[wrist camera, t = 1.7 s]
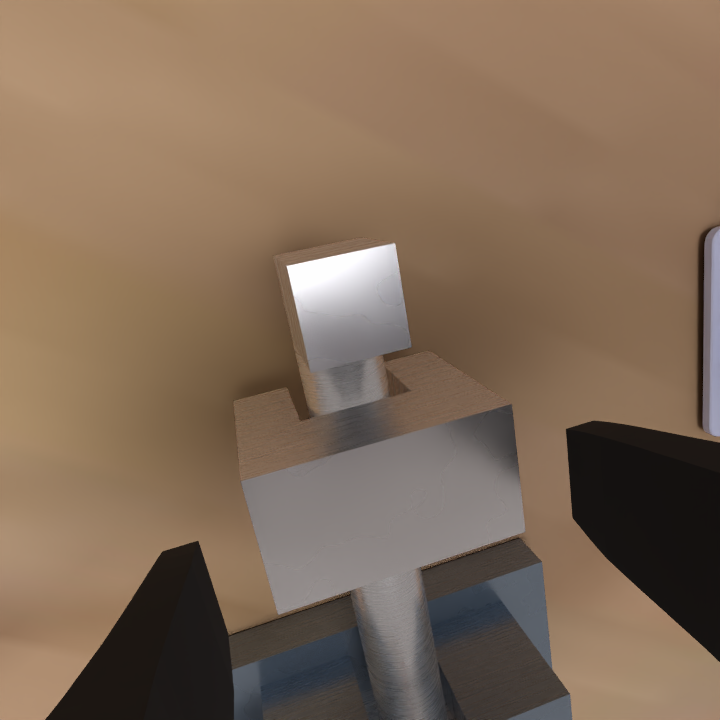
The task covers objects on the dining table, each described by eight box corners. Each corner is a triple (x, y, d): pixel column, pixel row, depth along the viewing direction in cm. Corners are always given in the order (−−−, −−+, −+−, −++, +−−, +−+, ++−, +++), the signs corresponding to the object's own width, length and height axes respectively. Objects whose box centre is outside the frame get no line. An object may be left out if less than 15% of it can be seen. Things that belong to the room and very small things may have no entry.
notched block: (428, 350, 15) (511, 404, 11) (443, 447, 16) (525, 531, 12) (233, 400, 14) (240, 481, 10) (260, 501, 15) (278, 614, 11)
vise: (482, 199, 17) (632, 191, 11) (537, 697, 23) (652, 870, 17) (-68, 312, 14) (-285, 388, 8) (163, 846, 20) (140, 1120, 14)
